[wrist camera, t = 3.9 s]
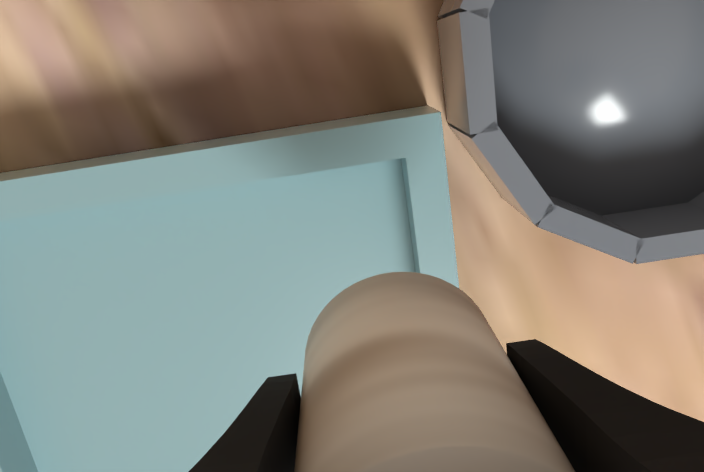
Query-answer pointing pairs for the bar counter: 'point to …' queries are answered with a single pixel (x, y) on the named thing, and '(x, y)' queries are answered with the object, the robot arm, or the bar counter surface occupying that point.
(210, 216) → the tray
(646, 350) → the bar counter surface
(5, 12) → the bar counter surface
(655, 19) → the grey rounded shallow piece
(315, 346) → the cylinder
